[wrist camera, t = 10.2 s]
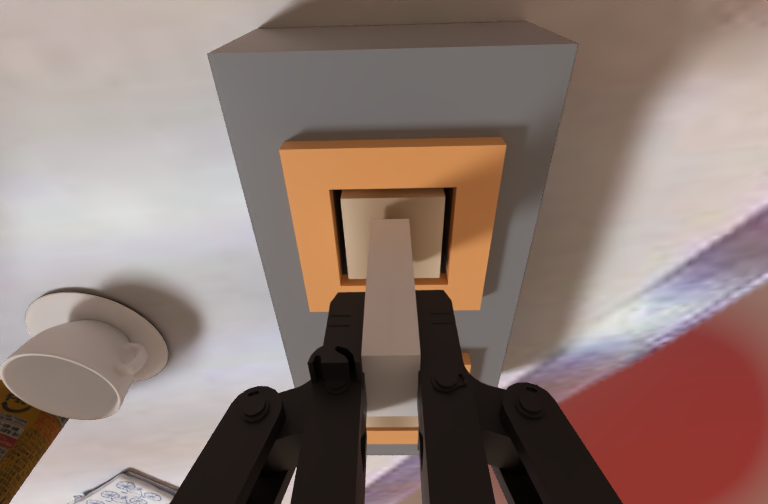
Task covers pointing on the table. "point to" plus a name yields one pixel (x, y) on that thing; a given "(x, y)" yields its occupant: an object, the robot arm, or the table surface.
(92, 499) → the bicycle print napkin
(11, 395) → the condiment
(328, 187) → the block
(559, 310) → the table surface
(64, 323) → the teacup
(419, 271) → the peg
